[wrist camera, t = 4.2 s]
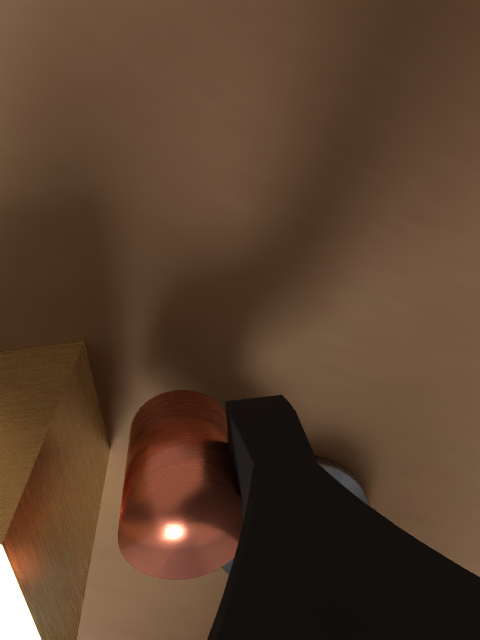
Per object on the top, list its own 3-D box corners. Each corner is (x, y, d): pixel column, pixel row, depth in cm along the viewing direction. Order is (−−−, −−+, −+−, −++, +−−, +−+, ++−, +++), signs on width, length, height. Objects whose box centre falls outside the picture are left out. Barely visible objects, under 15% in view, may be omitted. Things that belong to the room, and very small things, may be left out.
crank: (376, 539, 14) (440, 658, 11) (276, 601, 14) (309, 735, 11) (215, 341, 10) (238, 432, 7) (86, 431, 11) (53, 557, 8)
